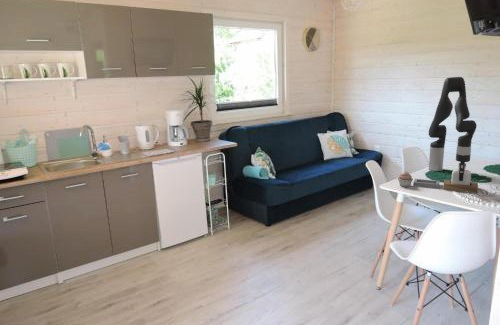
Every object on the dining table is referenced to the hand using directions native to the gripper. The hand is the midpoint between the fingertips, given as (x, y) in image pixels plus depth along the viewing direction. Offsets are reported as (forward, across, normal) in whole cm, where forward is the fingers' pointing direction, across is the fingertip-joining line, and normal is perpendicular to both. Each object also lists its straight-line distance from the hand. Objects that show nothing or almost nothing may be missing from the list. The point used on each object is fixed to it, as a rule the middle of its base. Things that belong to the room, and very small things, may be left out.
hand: (461, 178), depth 221 cm
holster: (+6, 0, -19) cm, 20 cm away
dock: (+6, 0, 0) cm, 6 cm away
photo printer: (+6, 0, 0) cm, 6 cm away
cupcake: (+6, +6, -31) cm, 32 cm away
